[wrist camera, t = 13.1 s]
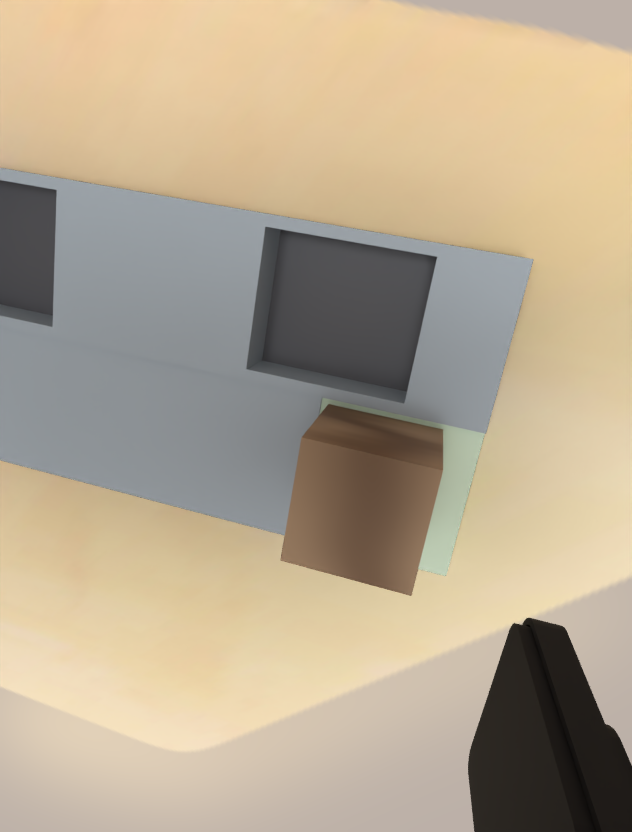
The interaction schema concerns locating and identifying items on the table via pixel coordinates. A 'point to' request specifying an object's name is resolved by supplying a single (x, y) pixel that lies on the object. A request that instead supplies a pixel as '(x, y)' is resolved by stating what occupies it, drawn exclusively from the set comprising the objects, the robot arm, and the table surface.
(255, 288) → the box
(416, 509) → the block
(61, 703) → the table surface
